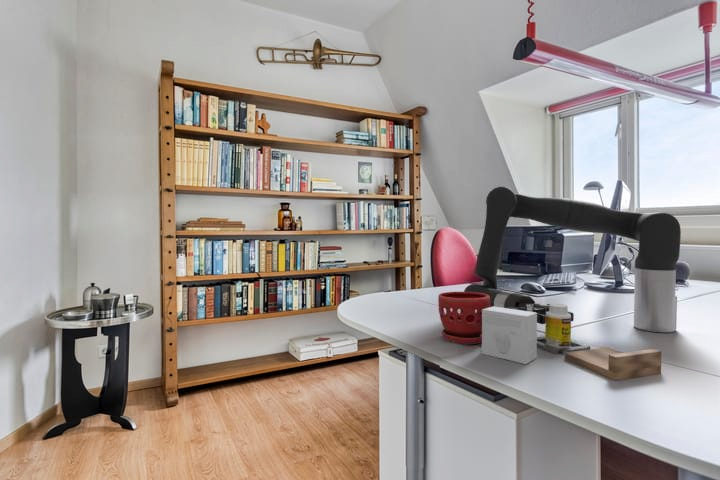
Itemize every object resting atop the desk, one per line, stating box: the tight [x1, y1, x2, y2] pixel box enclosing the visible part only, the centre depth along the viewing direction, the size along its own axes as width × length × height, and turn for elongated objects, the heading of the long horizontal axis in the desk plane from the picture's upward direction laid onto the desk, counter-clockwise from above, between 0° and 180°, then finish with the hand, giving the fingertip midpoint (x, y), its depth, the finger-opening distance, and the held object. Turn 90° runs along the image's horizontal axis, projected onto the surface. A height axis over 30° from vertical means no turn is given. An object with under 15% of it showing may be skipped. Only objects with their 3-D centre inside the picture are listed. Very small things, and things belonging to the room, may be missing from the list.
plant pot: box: [437, 291, 490, 345], centre depth 98 cm, size 13×13×12 cm
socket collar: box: [537, 335, 591, 355], centre depth 92 cm, size 10×10×1 cm
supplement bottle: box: [544, 303, 572, 349], centre depth 92 cm, size 6×6×10 cm
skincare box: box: [481, 306, 538, 365], centre depth 86 cm, size 10×6×10 cm, turn 45°
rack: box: [564, 347, 662, 381], centre depth 79 cm, size 12×12×4 cm
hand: (558, 318), depth 92 cm, fingers open, 8 cm apart
